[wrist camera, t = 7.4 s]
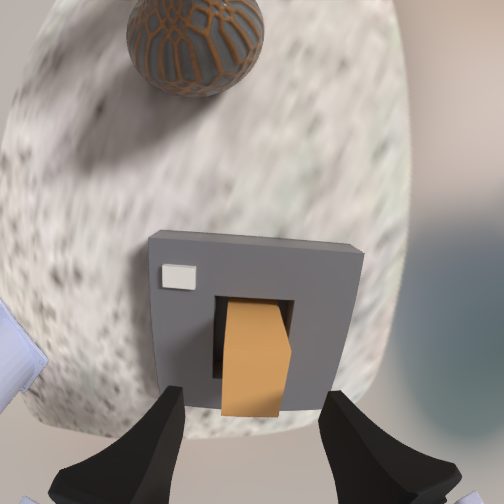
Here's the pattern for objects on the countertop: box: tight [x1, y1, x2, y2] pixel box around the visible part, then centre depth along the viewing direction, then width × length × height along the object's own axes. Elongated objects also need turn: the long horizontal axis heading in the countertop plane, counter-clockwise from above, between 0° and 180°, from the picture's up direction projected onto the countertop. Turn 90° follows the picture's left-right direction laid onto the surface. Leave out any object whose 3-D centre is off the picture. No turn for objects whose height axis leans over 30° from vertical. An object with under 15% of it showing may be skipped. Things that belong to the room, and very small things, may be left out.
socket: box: [149, 230, 365, 411], centre depth 17 cm, size 12×12×3 cm
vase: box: [126, 0, 264, 98], centre depth 10 cm, size 7×7×9 cm
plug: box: [221, 296, 292, 417], centre depth 15 cm, size 4×3×6 cm, turn 176°
